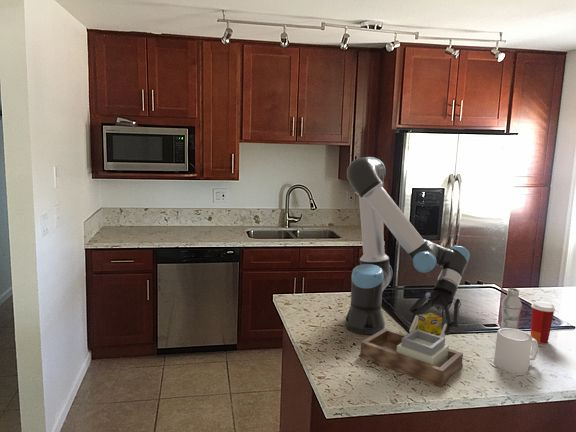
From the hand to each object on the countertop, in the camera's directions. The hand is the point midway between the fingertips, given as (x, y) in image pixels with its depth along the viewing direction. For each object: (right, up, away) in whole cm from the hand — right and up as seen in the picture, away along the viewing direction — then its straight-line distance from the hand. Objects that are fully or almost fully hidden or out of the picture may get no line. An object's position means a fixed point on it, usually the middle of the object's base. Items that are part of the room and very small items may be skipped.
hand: (425, 337), depth 162 cm
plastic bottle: (+32, -4, +7) cm, 33 cm away
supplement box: (+2, -4, +3) cm, 5 cm away
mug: (+26, -7, -10) cm, 29 cm away
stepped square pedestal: (-5, -5, -12) cm, 14 cm away
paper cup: (+45, -4, +10) cm, 46 cm away
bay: (-8, -5, -10) cm, 14 cm away
